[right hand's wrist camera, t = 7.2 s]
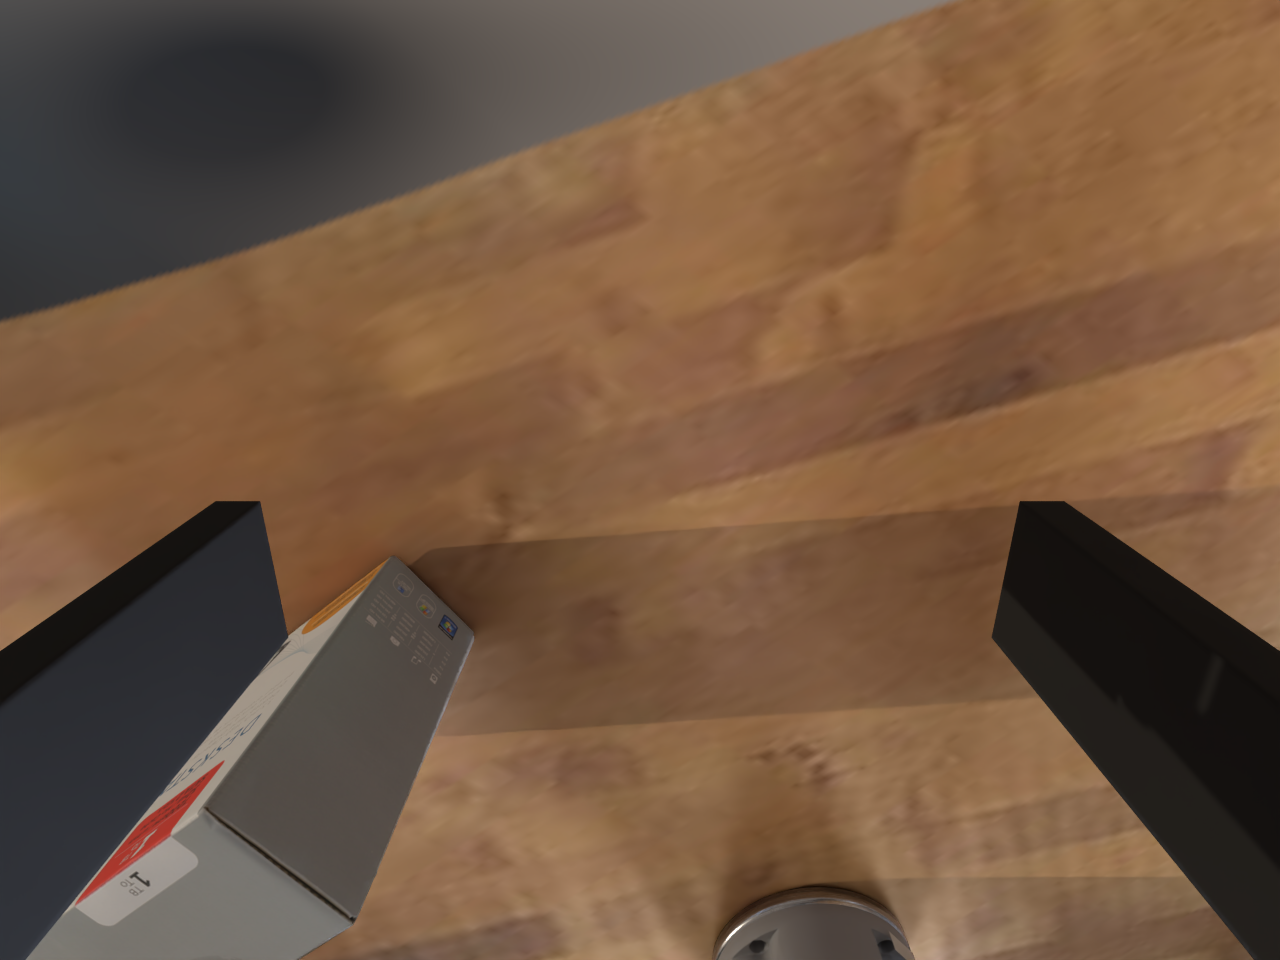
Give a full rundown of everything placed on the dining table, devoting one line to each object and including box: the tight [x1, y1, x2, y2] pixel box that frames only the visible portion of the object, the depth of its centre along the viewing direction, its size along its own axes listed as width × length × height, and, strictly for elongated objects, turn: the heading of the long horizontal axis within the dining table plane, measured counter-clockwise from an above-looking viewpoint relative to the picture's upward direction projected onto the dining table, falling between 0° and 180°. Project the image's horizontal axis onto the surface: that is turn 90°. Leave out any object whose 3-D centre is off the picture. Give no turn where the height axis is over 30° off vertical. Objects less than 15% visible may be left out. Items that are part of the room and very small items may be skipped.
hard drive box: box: [26, 556, 475, 960], centre depth 37 cm, size 16×8×20 cm, turn 128°
